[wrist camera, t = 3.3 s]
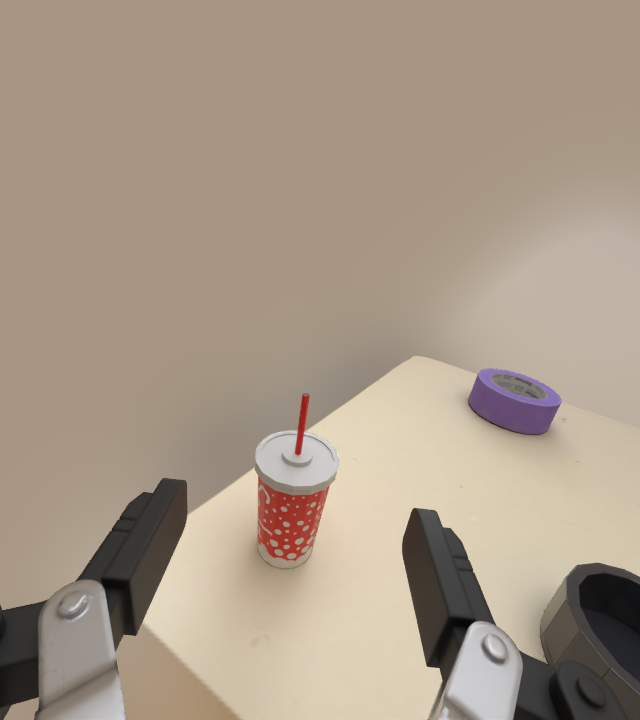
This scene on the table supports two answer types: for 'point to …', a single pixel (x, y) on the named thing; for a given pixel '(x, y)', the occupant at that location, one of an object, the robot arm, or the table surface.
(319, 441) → the beverage cup
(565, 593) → the socket
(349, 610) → the table surface
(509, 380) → the tape roll
